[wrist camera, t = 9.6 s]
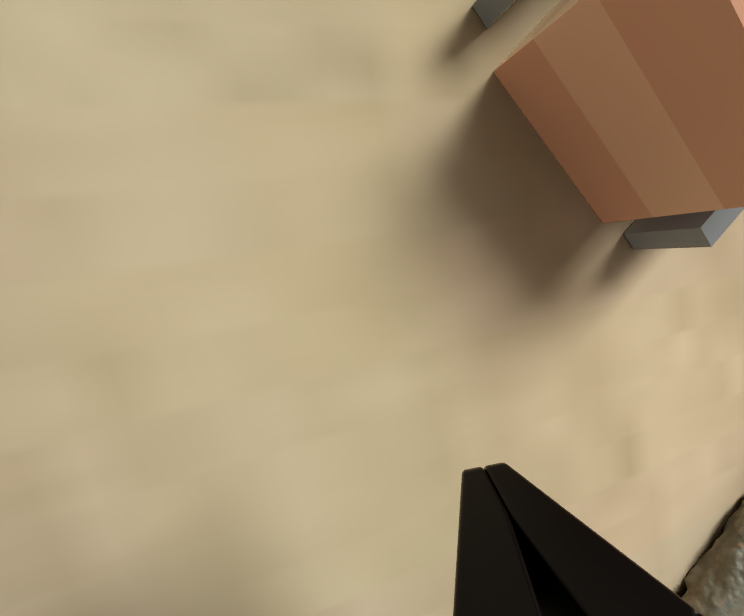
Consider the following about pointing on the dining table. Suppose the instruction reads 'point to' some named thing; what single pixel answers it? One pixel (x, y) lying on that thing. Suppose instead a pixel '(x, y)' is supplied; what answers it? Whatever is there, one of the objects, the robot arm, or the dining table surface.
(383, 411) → the dining table surface
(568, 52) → the tile stack
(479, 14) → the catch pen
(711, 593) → the elongated rock
